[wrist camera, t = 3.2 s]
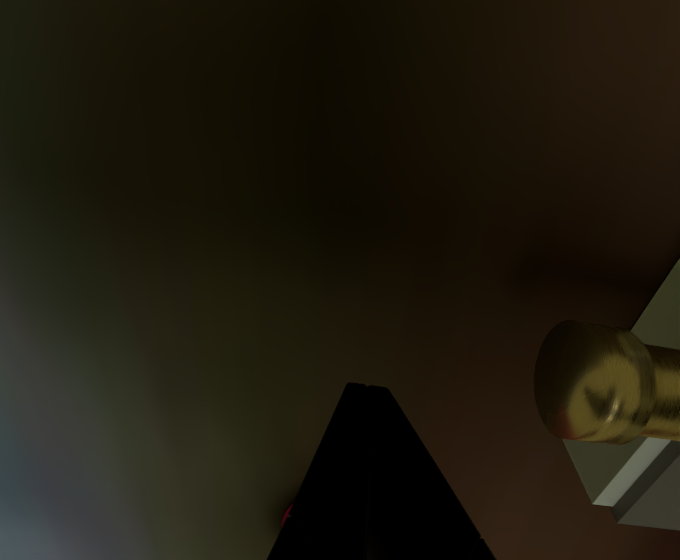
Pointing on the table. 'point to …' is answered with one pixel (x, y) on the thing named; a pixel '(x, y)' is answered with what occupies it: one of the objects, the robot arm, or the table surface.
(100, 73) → the table surface
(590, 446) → the hinge board
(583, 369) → the hinge pin
